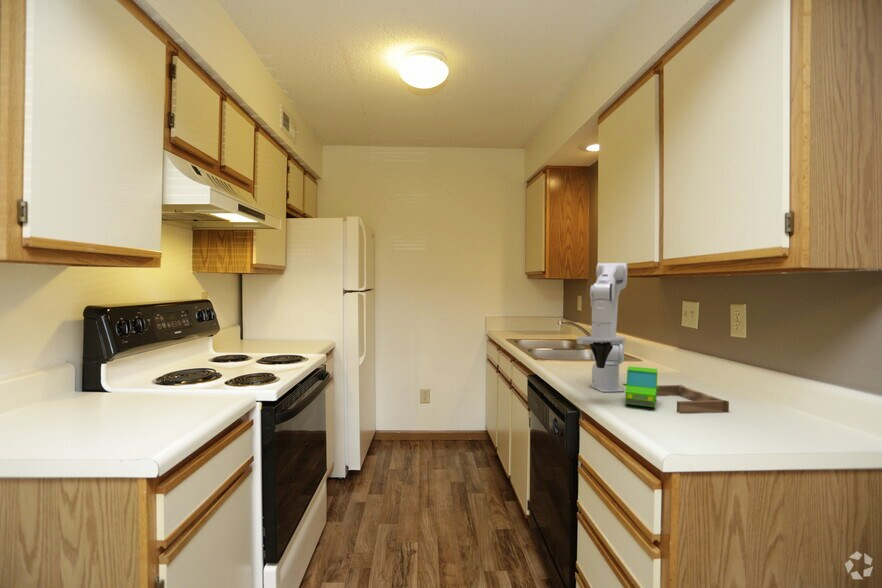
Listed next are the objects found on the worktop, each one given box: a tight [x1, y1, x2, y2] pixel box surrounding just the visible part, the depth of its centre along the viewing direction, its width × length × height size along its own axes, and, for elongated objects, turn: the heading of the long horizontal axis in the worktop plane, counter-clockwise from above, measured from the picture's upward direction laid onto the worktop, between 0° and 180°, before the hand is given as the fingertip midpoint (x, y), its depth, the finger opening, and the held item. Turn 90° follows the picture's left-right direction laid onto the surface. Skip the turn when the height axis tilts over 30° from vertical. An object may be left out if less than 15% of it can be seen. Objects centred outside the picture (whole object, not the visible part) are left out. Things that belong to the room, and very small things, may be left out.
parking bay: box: [657, 384, 730, 414], centre depth 132 cm, size 20×15×3 cm
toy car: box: [622, 365, 660, 410], centre depth 130 cm, size 10×13×10 cm
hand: (600, 367), depth 131 cm, fingers closed
